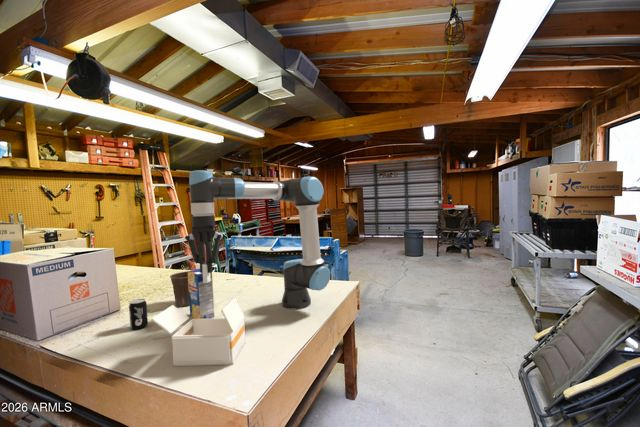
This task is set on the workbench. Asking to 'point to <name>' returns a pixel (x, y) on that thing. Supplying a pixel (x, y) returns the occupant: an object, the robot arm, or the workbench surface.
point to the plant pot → (180, 288)
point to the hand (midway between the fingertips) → (207, 281)
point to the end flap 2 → (233, 314)
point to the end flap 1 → (170, 319)
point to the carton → (207, 343)
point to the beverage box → (200, 295)
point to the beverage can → (138, 314)
